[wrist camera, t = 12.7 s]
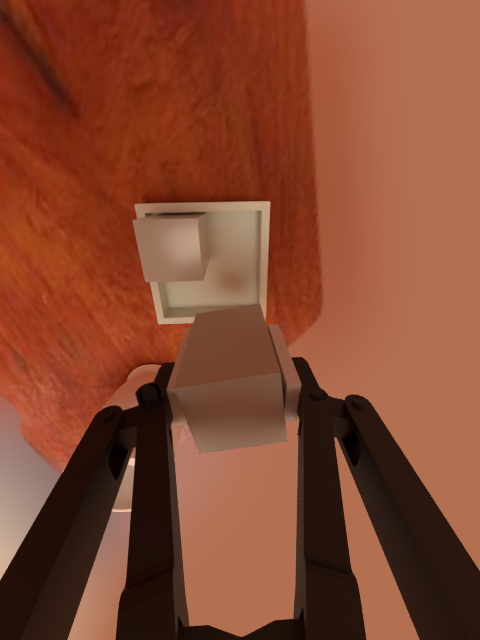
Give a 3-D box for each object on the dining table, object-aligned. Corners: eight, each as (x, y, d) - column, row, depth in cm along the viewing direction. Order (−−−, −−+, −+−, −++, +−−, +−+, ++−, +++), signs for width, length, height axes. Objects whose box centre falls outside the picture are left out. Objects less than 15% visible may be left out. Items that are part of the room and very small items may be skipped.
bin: (145, 203, 25) (134, 203, 22) (265, 200, 26) (270, 201, 23) (165, 311, 31) (158, 324, 28) (262, 308, 32) (265, 320, 29)
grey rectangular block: (195, 313, 18) (174, 388, 11) (260, 303, 18) (280, 372, 11) (209, 364, 20) (199, 453, 13) (266, 356, 20) (287, 441, 13)
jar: (185, 355, 35) (157, 452, 21) (193, 405, 39) (175, 510, 26) (112, 359, 34) (39, 460, 21) (130, 408, 39) (79, 516, 26)
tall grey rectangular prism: (159, 214, 25) (132, 219, 18) (206, 213, 25) (197, 218, 18) (166, 260, 27) (145, 282, 20) (209, 259, 28) (203, 280, 20)
